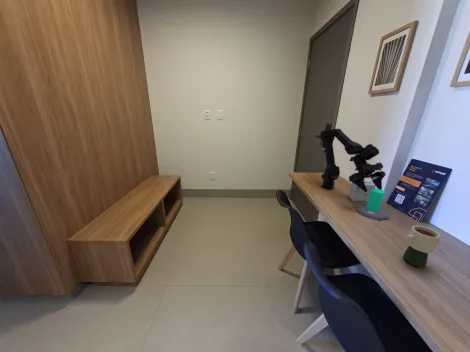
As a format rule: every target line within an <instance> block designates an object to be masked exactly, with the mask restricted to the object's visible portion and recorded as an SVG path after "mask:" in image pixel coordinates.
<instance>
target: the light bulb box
mask: <svg viewBox="0 0 470 352" xmlns="http://www.w3.org/2000/svg"><path fill="white" fill-rule="evenodd" d="M350 183H351V184H350V189H349V192H348V198H349V199H350V200H351V201H353V202H365V203H367V202H368V198H369V194H370V190H371V189H376V186H375V184H374V183H373V182H372V181H369V180H364V183H365V185H366V188H367V192H365V191H363V190H362V189H361V188H360V187H358V186H357V185H356V184H354V183H352V182H350Z"/></svg>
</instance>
